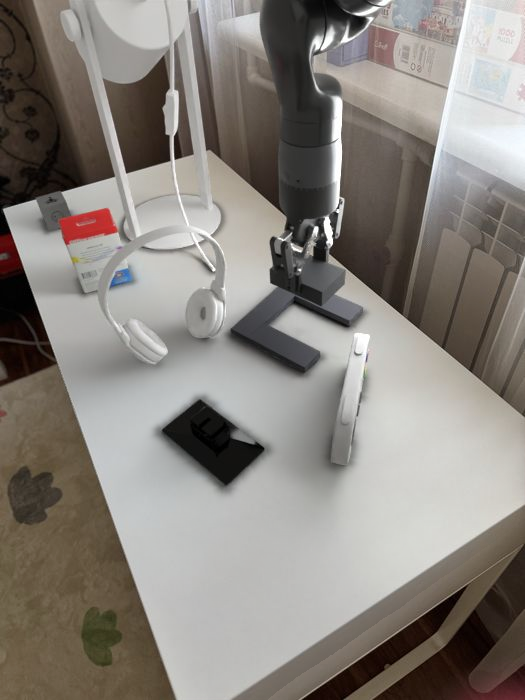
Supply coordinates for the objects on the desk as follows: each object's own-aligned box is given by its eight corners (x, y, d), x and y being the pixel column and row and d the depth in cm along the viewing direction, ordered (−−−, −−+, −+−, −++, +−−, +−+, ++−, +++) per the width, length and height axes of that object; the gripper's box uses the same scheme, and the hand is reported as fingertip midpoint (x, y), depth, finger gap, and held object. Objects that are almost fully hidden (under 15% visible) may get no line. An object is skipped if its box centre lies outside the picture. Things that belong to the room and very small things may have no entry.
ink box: (127, 266, 97) (106, 193, 86) (132, 281, 94) (111, 207, 83) (79, 278, 95) (52, 205, 85) (83, 294, 92) (55, 220, 81)
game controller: (347, 478, 65) (352, 439, 59) (329, 475, 65) (332, 435, 59) (367, 363, 78) (373, 321, 72) (352, 360, 78) (356, 319, 72)
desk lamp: (187, 180, 118) (146, -79, 86) (271, 246, 99) (258, -54, 67) (98, 212, 110) (16, -59, 78) (171, 291, 91) (102, -25, 59)
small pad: (294, 262, 81) (294, 248, 79) (344, 284, 77) (346, 269, 75) (269, 283, 78) (269, 268, 76) (321, 306, 74) (322, 292, 72)
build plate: (161, 432, 71) (154, 410, 68) (201, 399, 75) (196, 377, 71) (226, 487, 65) (222, 466, 62) (267, 448, 68) (265, 426, 65)
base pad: (362, 312, 85) (363, 306, 84) (304, 373, 77) (304, 367, 76) (291, 280, 92) (291, 275, 91) (231, 334, 83) (230, 328, 82)
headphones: (114, 356, 81) (75, 246, 67) (219, 308, 88) (203, 199, 73) (133, 385, 77) (95, 275, 62) (242, 333, 83) (230, 222, 69)
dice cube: (49, 231, 106) (40, 209, 103) (44, 219, 109) (35, 197, 106) (74, 224, 108) (66, 201, 104) (68, 212, 111) (60, 190, 107)
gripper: (300, 206, 59) (299, 317, 71) (367, 154, 67) (356, 263, 79) (247, 187, 63) (255, 296, 75) (317, 140, 70) (314, 246, 82)
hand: (307, 279), depth 77 cm, fingers closed on small pad, 6 cm apart
